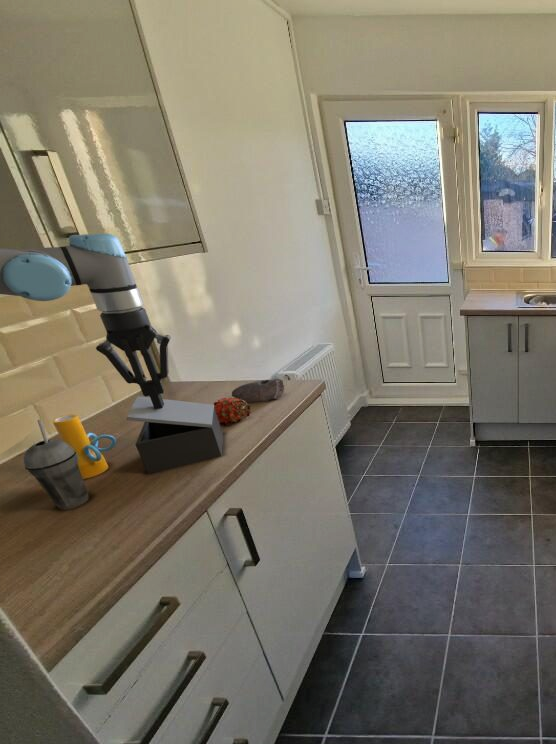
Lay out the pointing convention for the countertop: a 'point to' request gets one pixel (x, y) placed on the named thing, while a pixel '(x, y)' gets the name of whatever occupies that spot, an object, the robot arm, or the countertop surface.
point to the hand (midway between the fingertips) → (159, 406)
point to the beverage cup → (57, 471)
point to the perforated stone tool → (260, 391)
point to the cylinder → (83, 445)
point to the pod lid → (172, 412)
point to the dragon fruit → (231, 410)
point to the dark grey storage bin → (178, 444)
